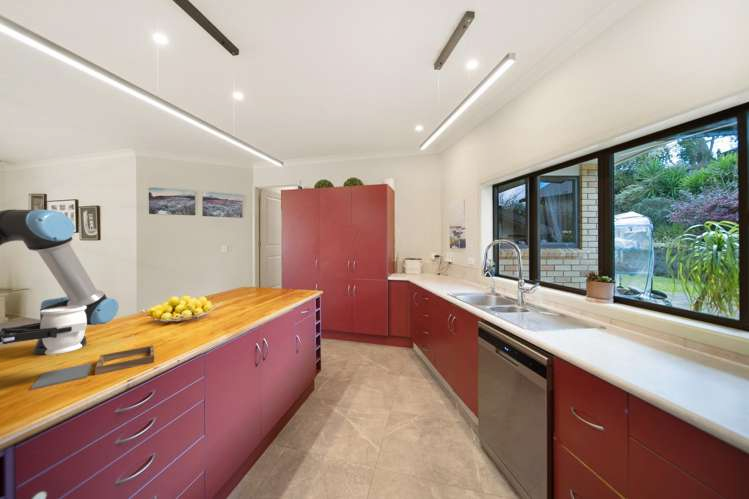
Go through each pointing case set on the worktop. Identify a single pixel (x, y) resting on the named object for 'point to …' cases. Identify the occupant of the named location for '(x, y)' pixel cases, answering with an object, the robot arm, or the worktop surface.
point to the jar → (60, 318)
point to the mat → (62, 375)
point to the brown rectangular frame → (125, 364)
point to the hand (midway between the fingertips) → (82, 323)
